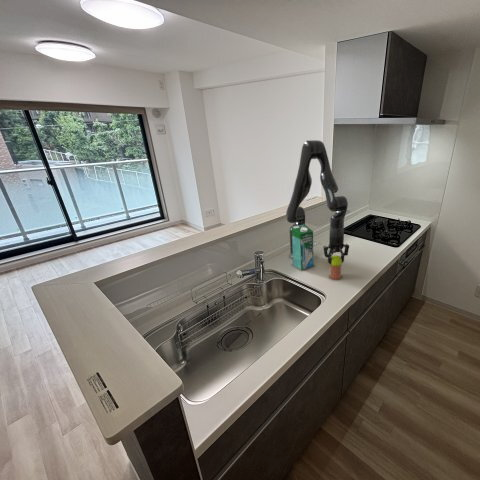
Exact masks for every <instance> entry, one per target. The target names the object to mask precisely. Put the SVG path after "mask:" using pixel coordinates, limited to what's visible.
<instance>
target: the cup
mask: <svg viewBox="0 0 480 480" xmlns="http://www.w3.org/2000/svg"><path fill="white" fill-rule="evenodd" d="M329 271H330V272H329V277H330V279H332V280H340V279H341V277H342V264H341V265H340V266H332V265H331V264H330V270H329Z"/></svg>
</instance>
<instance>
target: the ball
mask: <svg viewBox="0 0 480 480" xmlns="http://www.w3.org/2000/svg"><path fill="white" fill-rule="evenodd" d="M342 264H343V263H342V259H341V255H337V254H333V255H332V257H331V264H330V266H331V265H332V266H340V265H341V266H342Z"/></svg>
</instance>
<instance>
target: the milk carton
mask: <svg viewBox="0 0 480 480" xmlns="http://www.w3.org/2000/svg"><path fill="white" fill-rule="evenodd" d="M292 250H293V258H292V265H293V267H296V268H297V269H298V270H300V271H303V270H306V269H309V268H311V267H314V231H313V230H312V229H311V227H308V226H307V225H306V223H305V224H302V225H298V226H294V227H292Z"/></svg>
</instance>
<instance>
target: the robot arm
mask: <svg viewBox="0 0 480 480" xmlns="http://www.w3.org/2000/svg"><path fill="white" fill-rule="evenodd" d="M300 151H301V152H300V158H299V165H298V170H297V174H296V178H295V182H294V186H293V191H292V194H291V198H290V201H289V203H288V206H287V209H286V212H285V218H286V221H287V222H288V223H290V224H292V225H290V227H289V230H288V231H289V251H290V254H289V256H290V258H291V259H293V250H292V227H294V226H298V225H302V224H305V225H306V211H305V208H303V206H301V204H302V202H303V201H305V199H306V198H307V196H308V195H309V193H310V190H311V187H312V184H313V181H312V180H313V179H312V175H311V171H310V165H311V162H312V160H317V161H318V162H319V165H320V172H319V173H320V174H319V179H320V180H319V181H320V184H321V186H322V189H323V191H324V195H325V202H326V206H327V209H328V210H329V211H331V212H334V213H333V214H332V215H331V216H330V218H329V237H328V238H329V241H328V242H329V243H328V245H323V254H324V257H325V258H327V263H328V264H329V265H331V257H332V256H334V255H335V253H339V254H340V257H341V259H342V263H341V264H343V263H344V262H345V257H346V256H348V255H349V249H350V245H349V244H348V243H344V241H345V217H346V214H347V210H348V207H349V201H348V199H347V197H346V196H344V195H338V196H335V194H336V193H337V192H338V191H339V186H338V184H337V182H336V179H335V177H334V174H333V172H332V169H331V164H330V161H329V156H328V152H327V148H326V146H325V143H324V142H323V141H321V140H318V139H317V140H315V139H313V140H312V139H310V140H309V139H308V140H305V141H304V142H303V144H302V147H301V150H300ZM343 249H344V251H343ZM328 250H329V251H328Z"/></svg>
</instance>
